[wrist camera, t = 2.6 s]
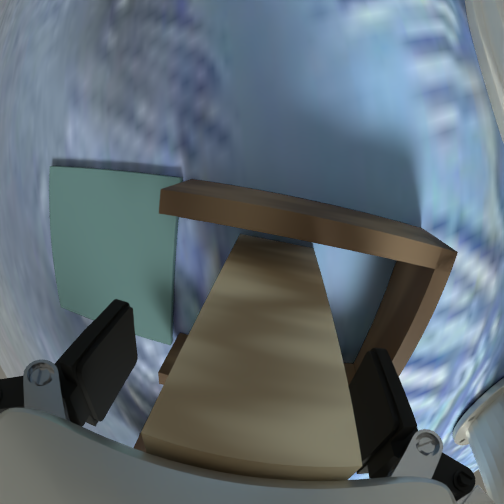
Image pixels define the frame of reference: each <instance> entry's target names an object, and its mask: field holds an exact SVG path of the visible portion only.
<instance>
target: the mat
mask: <svg viewBox="0 0 504 504" xmlns="http://www.w3.org/2000/svg"><path fill="white" fill-rule="evenodd" d="M182 181H183V178H181V177H173V176H165V175H157V174H148V173H139V172H130V171H120V170H109V169H96V168H83V167H66V166H50V174H49V209H50V230H51V243H52V253H53V261H54V269H55V276H56V283H57V289H58V294H59V300H60V305H61V307H62V308H64V309H67V310H69V311H71V312H74V313H76V314H79V315H81V316H84V317H87V318H89V319H92V320H95V319H96V318H97V317H98V316H99V315H100V314H101V313H102V312H103V311H104V310H105V309H106V307H107V306H108V305H109V304H110V303H111V302H112V301H113V300H114V299H118V300H122V301H125V302H128V303H129V304H130V307H132V308H133V314H134V327H135V335H138V336H141V337H144V338H147V339H151V340H154V341H157V342H161V343H164V344H168V345H171V344H172V342H173V299H174V276H175V258H176V244H177V231H178V219H179V217H176V216H170V215H165V214H159V201H160V190H161V189H163V188H166V187H169V186H172V185H175V184H178V183H181V182H182Z"/></svg>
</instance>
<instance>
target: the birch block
mask: <svg viewBox="0 0 504 504" xmlns="http://www.w3.org/2000/svg"><path fill="white" fill-rule="evenodd" d="M141 434H142V438H143V442H144V445H145V448H146V452H147V453H149V454H152V455H155V456H158V457H161V458H165V459H168V460H172V461H175V462H179V463H183V464H187V465H191V466H195V467H199V468H204V469H208V470H213V471H219V472H224V473H230V474H236V475H243V476H250V477H258V478H268V479H280V480H298V481H339V480H347V479H349V478H350V477H351V476H352V475H353V474H354V473H355V472H356V471H358V470H359V469H360V468H361V467H362V460H361V453H360V447H359V441H358V435H357V429H356V423H355V418H354V412H353V407H352V402H351V397H350V392H349V387H348V382H347V377H346V372H345V368H344V363H343V359H342V354H341V350H340V346H339V342H338V337H337V333H336V329H335V325H334V321H333V317H332V313H331V309H330V305H329V302H328V298H327V294H326V290H325V287H324V283H323V279H322V276H321V272H320V269H319V265H318V262H317V258H316V255H315V251H314V248H310V247H305V246H300V245H295V244H290V243H285V242H280V241H275V240H270V239H265V238H259V237H254V236H249V235H244V234H240V235H239V237H238V239H237V241H236V243H235V244H234V246H233V248H232V250H231V252H230V254H229V256H228V258H227V260H226V262H225V264H224V266H223V268H222V270H221V272H220V273H219V275H218V277H217V279H216V281H215V283H214V285H213V287H212V289H211V291H210V293H209V295H208V297H207V299H206V301H205V303H204V305H203V307H202V309H201V311H200V313H199V315H198V317H197V319H196V321H195V323H194V325H193V327H192V329H191V331H190V333H189V335H188V337H187V339H186V341H185V343H184V345H183V347H182V349H181V351H180V353H179V355H178V357H177V359H176V361H175V363H174V365H173V367H172V369H171V371H170V373H169V375H168V377H167V380H166V382H165V384H164V386H163V388H162V390H161V392H160V394H159V396H158V398H157V400H156V402H155V404H154V407H153V409H152V411H151V413H150V415H149V417H148V419H147V421H146V423H145V426H144V428H143V430H142V432H141Z"/></svg>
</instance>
